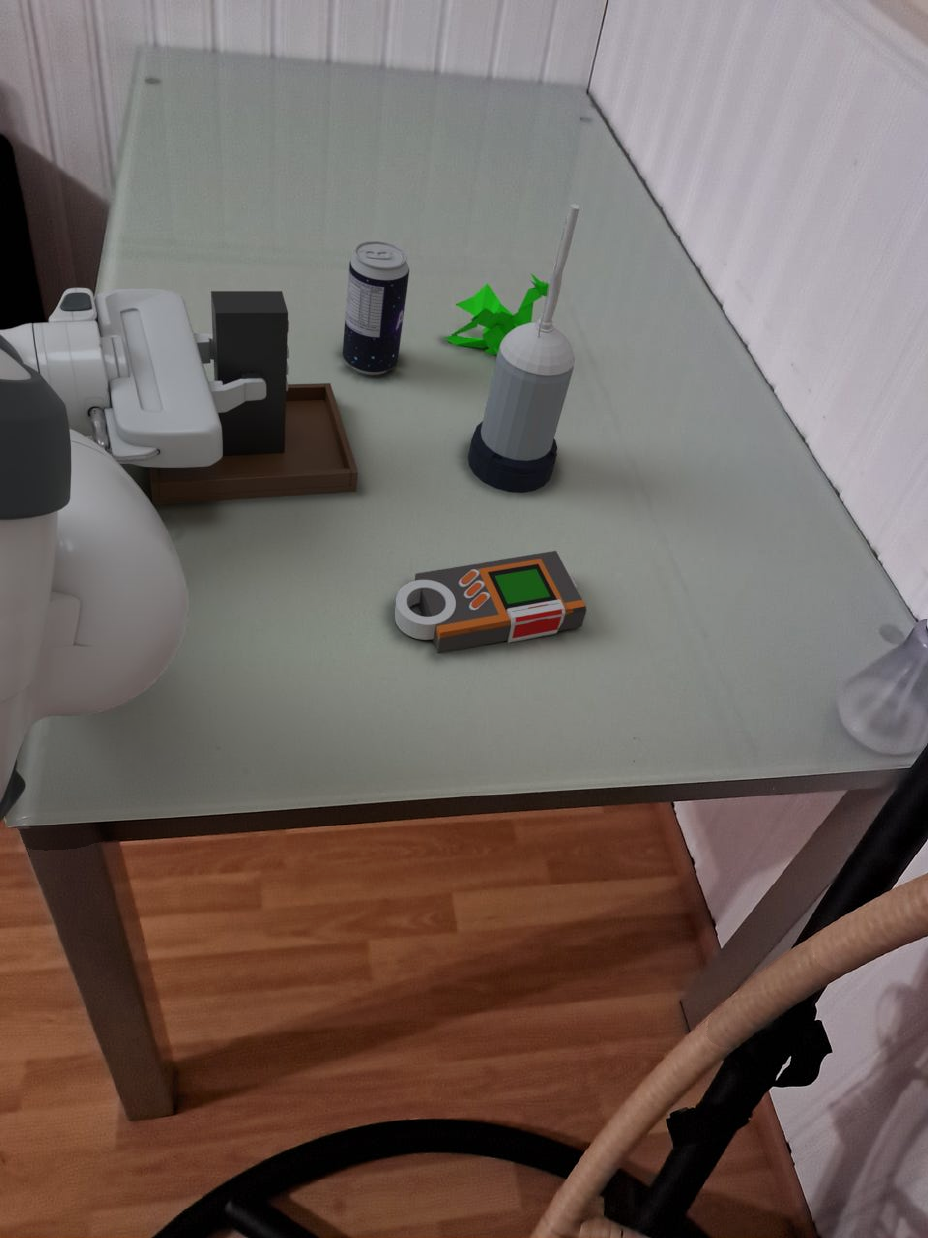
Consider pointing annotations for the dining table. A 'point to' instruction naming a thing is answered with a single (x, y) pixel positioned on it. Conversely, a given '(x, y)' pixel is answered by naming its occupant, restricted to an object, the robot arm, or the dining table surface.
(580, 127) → the dining table surface
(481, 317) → the figurine
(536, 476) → the humidifier
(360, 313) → the beverage can
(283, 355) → the tall dark grey prism
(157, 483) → the tray
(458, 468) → the dining table surface
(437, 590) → the electronic device
